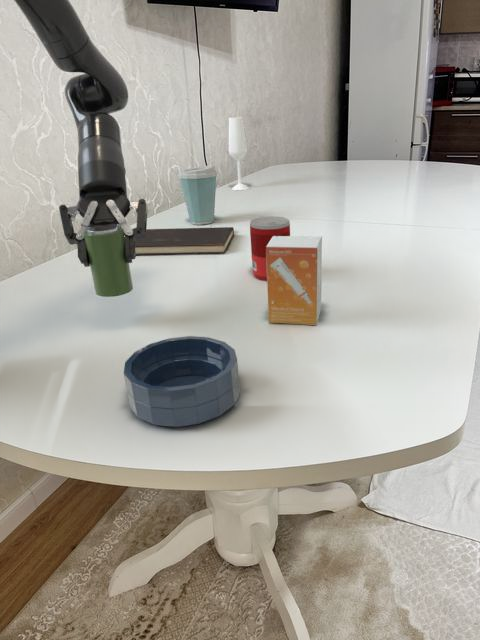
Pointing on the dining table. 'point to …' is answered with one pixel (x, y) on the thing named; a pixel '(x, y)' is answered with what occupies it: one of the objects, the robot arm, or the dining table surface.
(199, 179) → the disposable coffee cup
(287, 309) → the small box
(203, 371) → the bowl
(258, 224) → the canned food
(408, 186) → the dining table surface
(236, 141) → the champagne flute
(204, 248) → the hardcover book
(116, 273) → the slim can
